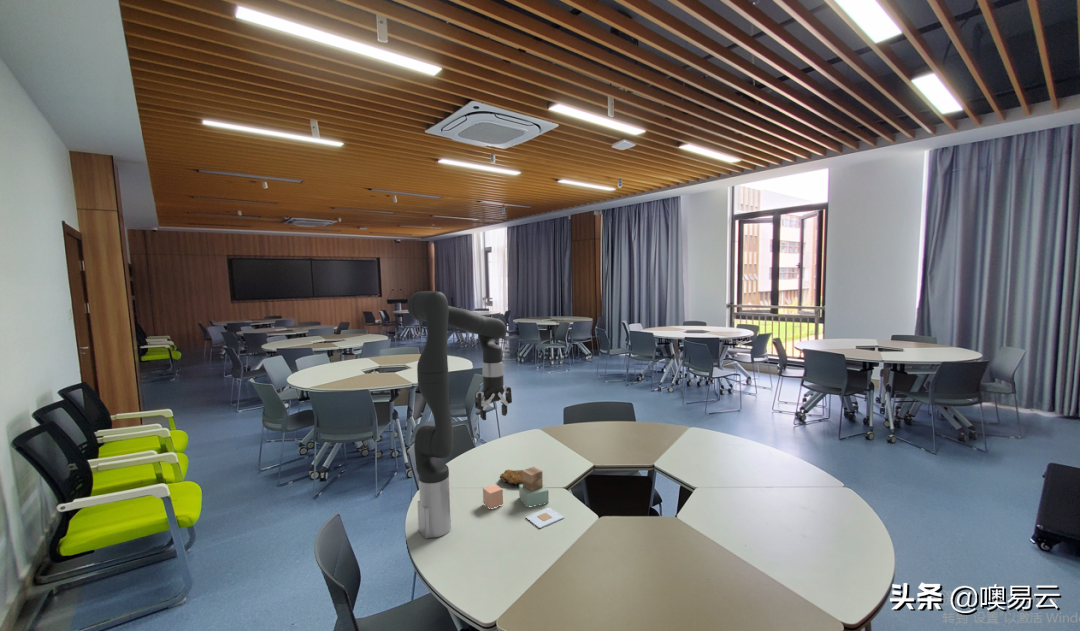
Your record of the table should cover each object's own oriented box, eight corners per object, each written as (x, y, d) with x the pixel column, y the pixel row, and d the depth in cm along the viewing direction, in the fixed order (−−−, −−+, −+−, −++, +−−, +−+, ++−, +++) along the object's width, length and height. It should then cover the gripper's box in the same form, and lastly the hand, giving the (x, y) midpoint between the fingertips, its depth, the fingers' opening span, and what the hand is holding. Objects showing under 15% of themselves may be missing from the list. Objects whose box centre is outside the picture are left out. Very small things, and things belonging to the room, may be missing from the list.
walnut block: (531, 491, 151) (531, 475, 151) (522, 486, 155) (522, 470, 155) (542, 487, 154) (542, 471, 154) (533, 482, 158) (533, 466, 158)
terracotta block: (490, 510, 149) (490, 493, 148) (483, 504, 153) (482, 488, 152) (503, 505, 152) (502, 489, 151) (495, 500, 156) (495, 483, 155)
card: (539, 528, 137) (539, 527, 137) (525, 518, 143) (525, 516, 143) (564, 518, 143) (564, 516, 143) (549, 508, 149) (549, 506, 149)
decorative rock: (498, 490, 164) (538, 490, 165) (498, 480, 163) (538, 479, 164) (499, 475, 175) (536, 475, 176) (499, 465, 175) (537, 465, 176)
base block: (527, 508, 150) (527, 494, 149) (519, 498, 157) (519, 484, 157) (548, 503, 153) (548, 490, 152) (539, 493, 160) (539, 480, 160)
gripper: (480, 378, 151) (482, 424, 153) (515, 372, 160) (516, 416, 161) (470, 375, 157) (472, 418, 159) (504, 369, 166) (505, 411, 167)
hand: (494, 417), depth 160 cm, fingers open, 8 cm apart
